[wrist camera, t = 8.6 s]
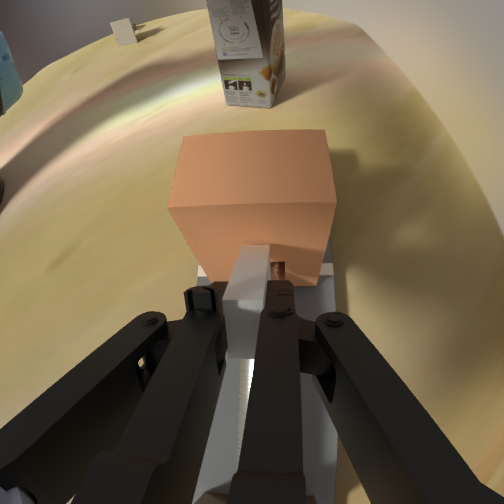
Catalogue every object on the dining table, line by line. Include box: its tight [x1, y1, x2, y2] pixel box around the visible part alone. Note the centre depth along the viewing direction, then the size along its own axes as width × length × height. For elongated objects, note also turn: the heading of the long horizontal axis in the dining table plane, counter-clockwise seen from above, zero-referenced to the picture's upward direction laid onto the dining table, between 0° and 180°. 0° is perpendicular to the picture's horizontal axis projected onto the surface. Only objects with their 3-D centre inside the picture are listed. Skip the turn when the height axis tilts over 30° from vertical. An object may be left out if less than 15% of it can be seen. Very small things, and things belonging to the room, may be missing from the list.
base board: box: [192, 235, 338, 504], centre depth 23 cm, size 32×11×2 cm, turn 178°
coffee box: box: [206, 0, 285, 108], centre depth 32 cm, size 9×6×16 cm
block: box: [167, 130, 337, 286], centre depth 20 cm, size 5×8×11 cm, turn 88°
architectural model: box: [110, 17, 146, 46], centre depth 52 cm, size 3×7×7 cm, turn 75°
